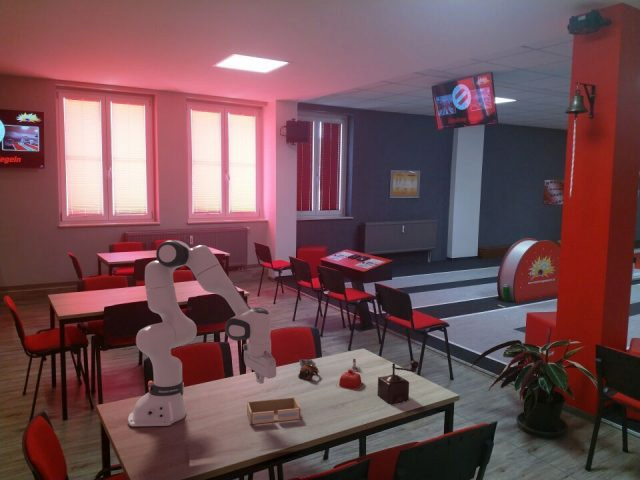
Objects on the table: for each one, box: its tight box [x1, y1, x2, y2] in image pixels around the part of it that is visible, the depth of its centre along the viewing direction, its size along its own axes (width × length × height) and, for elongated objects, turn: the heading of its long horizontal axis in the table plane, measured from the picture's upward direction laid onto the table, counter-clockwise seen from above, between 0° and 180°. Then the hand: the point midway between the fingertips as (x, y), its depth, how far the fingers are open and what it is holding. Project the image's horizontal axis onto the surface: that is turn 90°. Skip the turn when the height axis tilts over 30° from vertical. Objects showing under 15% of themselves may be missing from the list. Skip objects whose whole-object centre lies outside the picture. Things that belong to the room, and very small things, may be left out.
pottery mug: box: [297, 363, 319, 381], centre depth 243 cm, size 12×9×8 cm
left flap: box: [249, 411, 275, 425], centre depth 194 cm, size 9×1×4 cm, turn 106°
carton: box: [246, 396, 301, 425], centre depth 201 cm, size 20×10×5 cm, turn 106°
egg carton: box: [298, 358, 317, 368], centre depth 256 cm, size 11×8×4 cm
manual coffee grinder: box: [377, 360, 420, 405], centre depth 220 cm, size 16×11×18 cm
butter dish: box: [335, 368, 364, 391], centre depth 235 cm, size 12×12×8 cm
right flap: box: [278, 407, 302, 422], centre depth 197 cm, size 9×1×4 cm, turn 106°
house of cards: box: [351, 358, 361, 373], centre depth 252 cm, size 9×9×8 cm
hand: (260, 382), depth 198 cm, fingers closed
